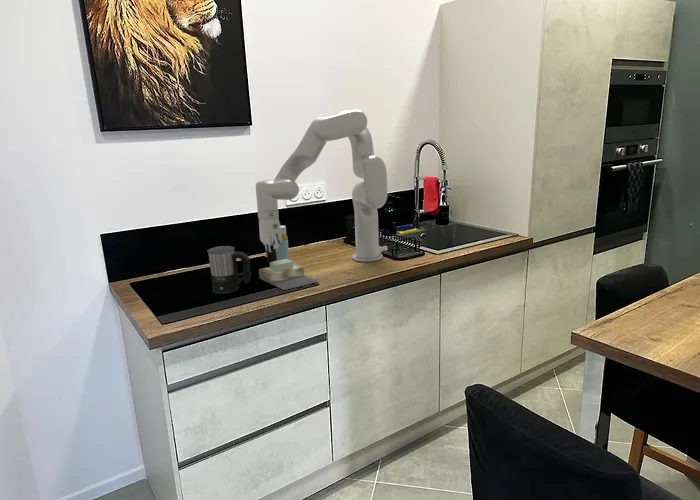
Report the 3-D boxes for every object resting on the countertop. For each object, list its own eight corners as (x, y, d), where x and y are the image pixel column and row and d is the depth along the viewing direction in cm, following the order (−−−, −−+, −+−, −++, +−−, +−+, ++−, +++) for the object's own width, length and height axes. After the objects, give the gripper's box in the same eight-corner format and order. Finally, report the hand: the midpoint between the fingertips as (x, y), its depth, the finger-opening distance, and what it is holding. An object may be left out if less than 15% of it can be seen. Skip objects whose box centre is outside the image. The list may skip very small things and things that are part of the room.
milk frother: (211, 296, 163) (206, 253, 159) (211, 282, 177) (207, 243, 174) (254, 290, 166) (250, 249, 162) (251, 277, 181) (247, 239, 177)
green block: (286, 265, 183) (286, 258, 182) (293, 267, 179) (293, 261, 178) (270, 268, 179) (269, 262, 178) (276, 271, 175) (276, 265, 174)
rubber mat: (304, 276, 180) (304, 275, 180) (318, 282, 173) (318, 281, 172) (271, 284, 172) (270, 283, 172) (284, 290, 165) (284, 289, 165)
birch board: (292, 270, 187) (291, 262, 187) (304, 275, 180) (303, 266, 180) (259, 278, 180) (258, 269, 179) (270, 284, 172) (269, 274, 172)
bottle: (269, 263, 198) (266, 228, 194) (277, 259, 204) (275, 224, 201) (283, 265, 195) (281, 229, 192) (292, 260, 202) (289, 225, 198)
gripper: (286, 215, 176) (290, 263, 181) (268, 210, 188) (271, 255, 193) (268, 218, 172) (272, 267, 177) (250, 213, 184) (254, 259, 188)
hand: (271, 261), depth 184 cm, fingers closed
